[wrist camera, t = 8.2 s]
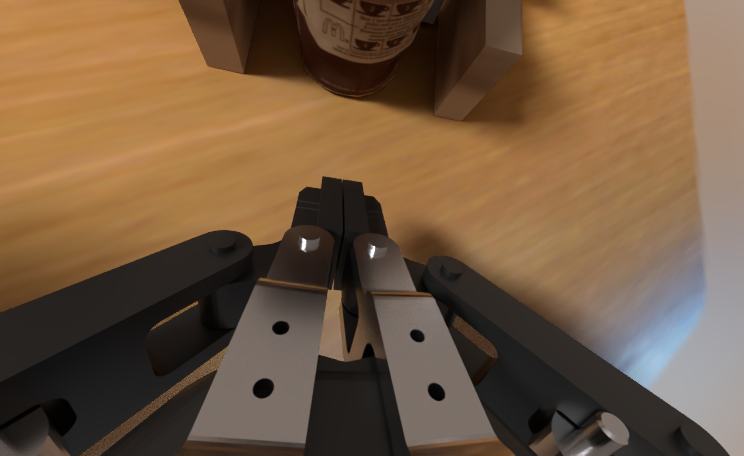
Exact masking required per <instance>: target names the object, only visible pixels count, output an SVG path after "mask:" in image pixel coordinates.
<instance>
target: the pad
mask: <svg viewBox="0 0 744 456" xmlns="http://www.w3.org/2000/svg"><path fill="white" fill-rule="evenodd" d="M443 2H444V0H434V1H433V4H432V6H431V7H430V9H429V10H428V11H427V13H426V15H425V16H424V18H423V20H422V21H423V22H427V23H430V24H433V23H434V21H435V19H436V17H437V15H438V13H439V11H440V9H441V7H442V4H443Z"/></svg>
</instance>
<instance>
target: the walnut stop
mask: <svg viewBox="0 0 744 456" xmlns="http://www.w3.org/2000/svg"><path fill="white" fill-rule="evenodd" d="M259 1H260V0H179V2H180V4H181V6H182V9H183V11H184V13H185V16H186V18H187V20H188V22H189V25H190V27H191V29H192V32H193V34H194V36H195V38H196V41H197V43H198V45H199V48H200V50H201V52H202V54H203V57H204V59H205V61H206V63H207V66H211V67H216V68H220V69H225V70H229V71H234V72H238V73H243V74H244V71H245V67H246V62H247V57H248V52H249V48H250V43H251V38H252V34H253V29H254V24H255V19H256V15H257V10H258V5H259ZM522 55H523V51H522V7H521V0H444V2H443V4H442V7H441V9H440V11H439V21H438V40H437V60H436V80H435V99H434V115H435V116H439V117H444V118H449V119H453V120H458V121H462V120H463V119H464V118H465V117H466V116H467V114H468V113H469V112H470V111H471V110H472V109H473V108H474V107H475V106H476V105H477V104H478V103H479V102H480V101H481V99H482V98H483V97H484V96H485V95H486V94H487V93H488V92H489V91H490V90H491V89H492V88H493V87H494V86H495V84H496V83H497V82H498V81H499V80H500V79H501V78H502V77H503V76H504V75H505V74H506V73H507V72H508V70H509V69H510V68H511V67H512V66H513V65H514V64H515V63H516V62H517V61H518V60H519V59H520V58H521V57H522Z"/></svg>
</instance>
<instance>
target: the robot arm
mask: <svg viewBox="0 0 744 456" xmlns="http://www.w3.org/2000/svg"><path fill="white" fill-rule="evenodd" d="M333 279H334V290H342V298H341V302H340V307H339V316H340V327H341V337H342V347H343V357H344V362H343V361H339V360H335V359H332V358H328V357H325V356H321V355H318V353H319V346H320V340H321V333H322V326H323V319H324V312H325V305H326V299H327V292H328V289H329V290H332V285H333ZM196 301H198V304H197V305H195V306H193V307H192V308H190V309H188V310H186V311H185V312H183V313H181V314H179V315H178V316H176V317H174V318H172V319H171V320H169V321H167V322H165V323H163V324H162V325H160V326H158V327H156V328H155V329H153V330H151V329H152V328H153V327H154V326H155V325H156V324H157V323H159V322H160V321H162V320H164V319H165V318H167V317H169V316H171V315H173V314H174V313H176V312H178V311H180V310H182V309H183V308H185V307H187V306H189V305H191V304H192V303H194V302H196ZM457 315H458V316H459V317H461V318H462V319H463V320H464V321H466V322H467V323H468V324H469V325H470V326H472V327H473V328H474V329H475V330H477V331H478V332H479V333H480V334H482V335H483V336H484V337H485V338H487V339H488V340H489V341H490V342H491V343H492V344H493V345H494V346H495V348H496V350H497V353H498V358H492V357H490V356H488V355H487V354H485V353H484V352H483V351H482V350H481V349H480V348H478V347H477V346H476V345H475V344H474V343H472V342H471V341H470V340H469V339H468V338H466V337H465V336H464V335H463V334H462V333H460V332H459V331H458V330H457V329H456V328H454V327H453V326H452V324H453V322H454V320H455V318H456V317H457ZM150 330H151V331H150ZM228 345H229V346H228ZM227 346H228V348H227V351H226V353H225V355H224V357H223V360H222V362H221V364H220V366H219V369H218V370H216V371H214V372H211V373H209V374H208V375H206V376H204V377H202V378H200V379H198V380H196V381H195V382H193V383H192V384H190V385H189V386H187V387H186V388H184V389H183V390H182V391H180V392H179V393H178V394H176V395H175V396H174V397H173V398H171V399H170V400H169V401H168V402H166V403H165V404H164V405H163V406H161V407H160V408H159V409H158V410H156V411H155V412H154V413H153V414H151V415H150V416H149V417H148V418H146V419H145V420H144V421H143V422H141V423H140V424H139V425H138V426H136V427H135V428H134V429H133V430H131V431H130V432H129V433H128V434H126V435H125V436H124V437H123V438H121V439H120V440H119V441H118V442H116V443H115V444H114V445H113V446H111V447H110V448H109V449H108V450H106V451H105V452H104V453H103V454H101V455H100V456H730V455H729V454H728V453H727V452H726V450H725V449H724V448H723V447H722V446H721V445H720V444H719V443H718V442H717V441H716V440H715V439H714V438H713V437H712V436H711V435H710V434H709V433H708V432H707V431H706V430H704V429H703V428H702V427H701V426H699V425H698V424H697V423H695V422H694V421H692V420H691V419H689V418H688V417H687V416H685V415H684V414H682V413H681V412H679V411H678V410H676V409H675V408H674V407H672V406H671V405H669V404H668V403H666V402H665V401H663V400H662V399H660V398H659V397H657V396H656V395H654V394H653V393H652V392H650V391H649V390H647V389H646V388H644V387H643V386H641V385H640V384H639V383H637V382H636V381H634V380H633V379H631V378H630V377H628V376H627V375H625V374H624V373H623V372H621V371H620V370H618V369H617V368H615V367H614V366H612V365H611V364H609V363H608V362H606V361H605V360H604V359H602V358H601V357H599V356H598V355H596V354H595V353H593V352H592V351H590V350H589V349H588V348H586V347H585V346H583V345H582V344H580V343H579V342H577V341H576V340H574V339H573V338H571V337H570V336H569V335H567V334H566V333H564V332H563V331H561V330H560V329H558V328H557V327H555V326H554V325H553V324H551V323H550V322H548V321H547V320H545V319H544V318H542V317H541V316H539V315H538V314H536V313H535V312H534V311H532V310H531V309H529V308H528V307H526V306H525V305H523V304H522V303H520V302H519V301H518V300H516V299H515V298H513V297H512V296H510V295H509V294H507V293H506V292H504V291H503V290H501V289H500V288H499V287H497V286H496V285H494V284H493V283H491V282H490V281H488V280H487V279H485V278H484V277H483V276H481V275H480V274H478V273H477V272H475V271H474V270H472V269H471V268H469V267H468V266H466V265H465V264H464V263H462V262H460V261H458V260H457V259H454V258H451V257H448V256H434V257H432V258H430V259H429V260H428V262H427V265H423V264H420V263H417V262H414V261H411V260H408V259H406V258H404V257H403V256H402V253H401V251H400V248H399V246H398V245H397V244H396V243H395V242H394V241H393V240H392V239H390V238H389V237H388V233H387V229H386V225H385V221H384V217H383V213H382V208H381V204H380V203H379V202H378V201H377V200H376V199H375V198H374V197H373V196H366V195H364V192H363V185H362V182H356V181H350V180H344V179H343V181H342V179H337V178H331V177H324V176H323V177H322V184H321V189H319V188H312V187H306V188H304V189H303V190H302V191H301V192H299V196H298V201H297V205H296V209H295V213H294V217H293V221H292V226H291V228H290V229H289V230H287V231H286V232H285V234H284V236H283V239H282V240H281V241H279V242H276V243H273V244H268V245H259V246H253V244H252V241H251V240H250V238H249V237H247V236H246V235H244V234H242V233H240V232H236V231H230V230H219V231H212V232H208V233H205V234H203V235H200V236H198V237H195V238H192V239H190V240H187V241H185V242H182V243H180V244H177V245H174V246H172V247H169V248H167V249H164V250H161V251H159V252H156V253H154V254H151V255H149V256H146V257H143V258H141V259H138V260H136V261H133V262H130V263H128V264H125V265H123V266H120V267H118V268H115V269H112V270H110V271H107V272H105V273H102V274H100V275H97V276H94V277H92V278H89V279H87V280H84V281H81V282H79V283H76V284H74V285H71V286H69V287H66V288H63V289H61V290H58V291H56V292H53V293H51V294H48V295H45V296H43V297H40V298H38V299H35V300H32V301H30V302H27V303H25V304H22V305H20V306H17V307H14V308H12V309H9V310H7V311H4V312H2V313H0V456H79V455H80V454H81V453H83V452H84V451H86V450H87V449H88V448H90V447H91V446H92V445H94V444H95V443H96V442H98V441H99V440H101V439H102V438H103V437H105V436H106V435H107V434H109V433H110V432H111V431H113V430H114V429H115V428H117V427H118V426H120V425H121V424H122V423H124V422H125V421H126V420H128V419H129V418H130V417H132V416H133V415H135V414H136V413H137V412H139V411H140V410H141V409H143V408H144V407H145V406H147V405H148V404H149V403H151V402H152V401H154V400H155V399H156V398H158V397H159V396H160V395H162V394H163V393H164V392H166V391H167V390H169V389H170V388H171V387H173V386H174V385H175V384H177V383H178V382H179V381H181V380H182V379H183V378H185V377H186V376H188V375H189V374H190V373H192V372H193V371H194V370H196V369H197V368H198V367H200V366H201V365H203V364H204V363H205V362H207V361H208V360H209V359H211V358H212V357H213V356H215V355H216V354H217V353H219V352H220V351H222V350H223V349H224V348H226V347H227Z"/></svg>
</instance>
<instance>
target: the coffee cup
mask: <svg viewBox="0 0 744 456" xmlns="http://www.w3.org/2000/svg"><path fill="white" fill-rule="evenodd" d="M433 1H434V0H293V3H294V10H295V15H296V20H297V26H298V30H299V33H300V42H301V56H302V61H303V65H304V68H305V70H306V71H307V72H308V73H309V74H310V75H311V77H312V78H313V79H314V80H315V81H317V82H318V83H319V84H320V85H321V86H322V87H324V88H325V89H327V90H329V91H332V92H334V93H337V94H341V95H347V96H355V97H360V96H365V95H368V94H372V93H374V92H376V91H378V90H380V89H382V88H383V87H384V86H385V85H386V84H387V83H388V82H389V81H390V80H391V79H392V78H393V77H394V72H395V69H396V67H397V66H398V64H399V55H400V54H401V53H403V52H404V51H405V50H406V49H407V48H409V47H410V45H411V44H412V43H413V41H414V39H415V37H416V33H417V31H418V29H419V27H420V24H421V22H422V20H423V18H424V16H425V15H426V13H427V11H428V10H429V9H430V7H431V6H432V4H433Z"/></svg>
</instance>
